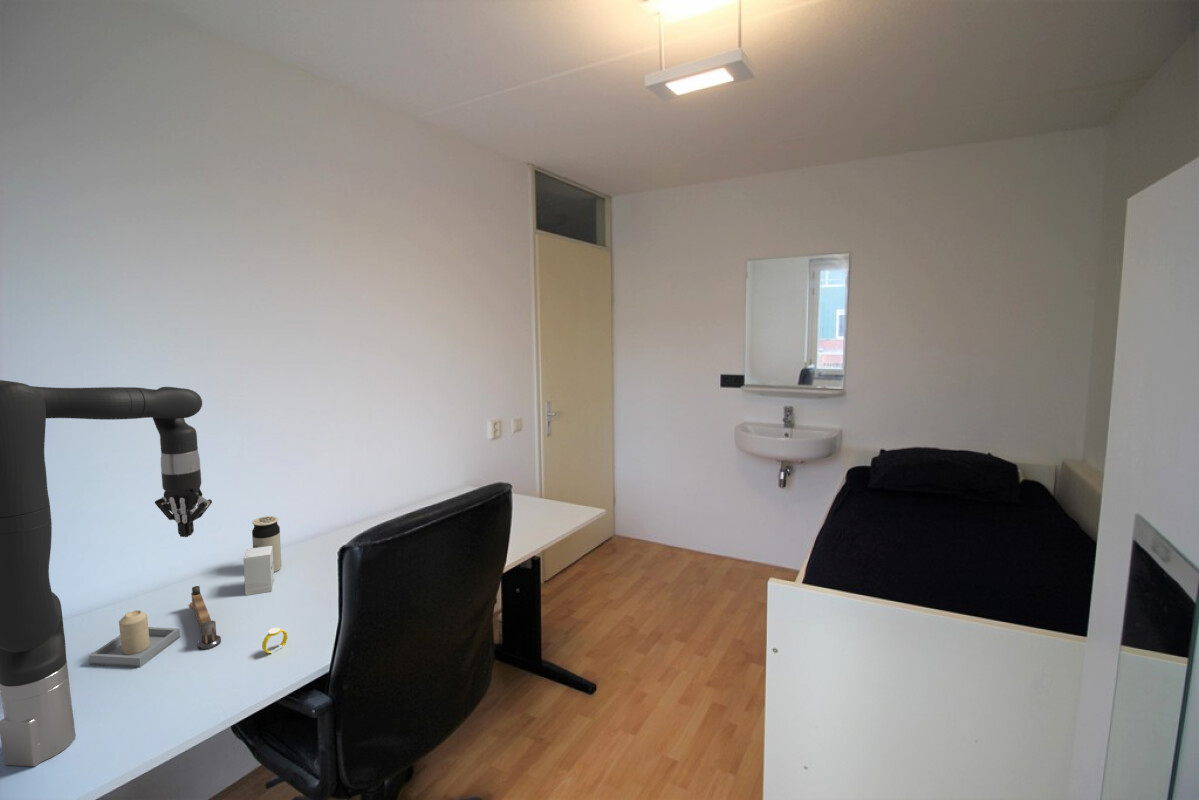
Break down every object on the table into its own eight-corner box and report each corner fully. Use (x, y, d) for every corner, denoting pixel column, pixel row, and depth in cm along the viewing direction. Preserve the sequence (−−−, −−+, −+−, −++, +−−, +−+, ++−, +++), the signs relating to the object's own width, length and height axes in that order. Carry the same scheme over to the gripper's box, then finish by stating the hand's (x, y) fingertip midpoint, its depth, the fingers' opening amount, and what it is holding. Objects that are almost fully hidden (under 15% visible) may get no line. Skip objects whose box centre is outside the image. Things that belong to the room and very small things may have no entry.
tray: (140, 667, 132) (139, 658, 132) (90, 664, 133) (89, 655, 132) (180, 637, 145) (179, 628, 145) (134, 634, 145) (133, 626, 145)
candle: (133, 657, 135) (129, 620, 134) (116, 652, 136) (112, 617, 135) (155, 644, 141) (152, 609, 139) (138, 640, 142) (135, 605, 140)
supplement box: (272, 591, 170) (270, 554, 168) (244, 596, 166) (242, 558, 164) (274, 580, 176) (273, 545, 174) (248, 584, 173) (246, 548, 171)
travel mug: (276, 562, 189) (273, 513, 186) (285, 569, 184) (283, 520, 181) (250, 569, 183) (247, 519, 180) (259, 577, 178) (256, 526, 175)
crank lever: (217, 640, 142) (216, 619, 141) (202, 644, 140) (201, 624, 139) (203, 602, 159) (201, 583, 159) (189, 606, 157) (188, 587, 156)
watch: (267, 658, 139) (265, 639, 137) (261, 655, 140) (258, 635, 139) (290, 645, 144) (287, 626, 142) (284, 642, 145) (281, 622, 144)
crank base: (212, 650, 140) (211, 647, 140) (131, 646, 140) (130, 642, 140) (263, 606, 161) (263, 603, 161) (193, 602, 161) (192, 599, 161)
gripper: (219, 465, 133) (223, 531, 136) (166, 462, 133) (171, 528, 136) (196, 474, 126) (201, 543, 129) (140, 471, 126) (146, 540, 129)
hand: (186, 535), depth 132 cm, fingers closed
